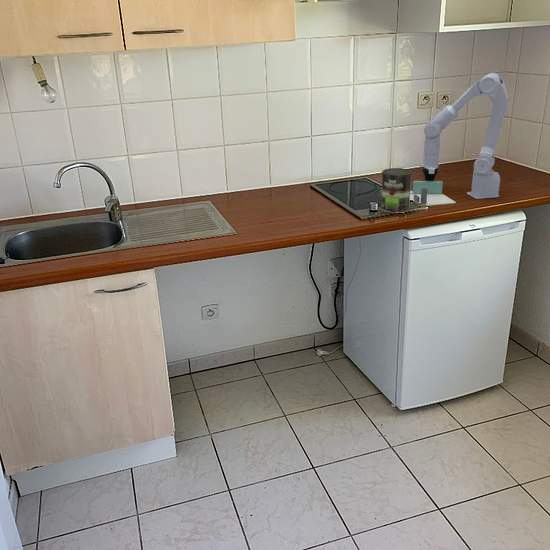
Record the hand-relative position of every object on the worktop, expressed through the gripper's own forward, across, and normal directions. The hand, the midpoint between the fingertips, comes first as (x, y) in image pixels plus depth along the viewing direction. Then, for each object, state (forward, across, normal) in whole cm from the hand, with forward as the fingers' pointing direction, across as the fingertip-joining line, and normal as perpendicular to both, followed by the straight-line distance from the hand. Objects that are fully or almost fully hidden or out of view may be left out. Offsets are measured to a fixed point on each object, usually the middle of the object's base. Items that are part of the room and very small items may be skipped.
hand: (428, 187), depth 230 cm
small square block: (+1, +17, -4) cm, 17 cm away
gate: (+1, +5, -1) cm, 5 cm away
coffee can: (+2, +25, -13) cm, 28 cm away
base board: (+1, +10, -2) cm, 10 cm away
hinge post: (+1, +5, -8) cm, 9 cm away
